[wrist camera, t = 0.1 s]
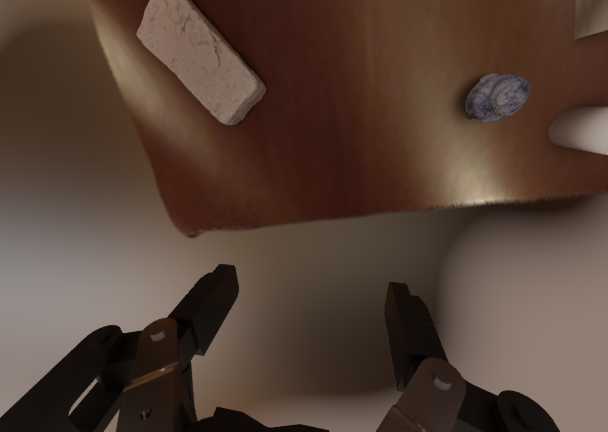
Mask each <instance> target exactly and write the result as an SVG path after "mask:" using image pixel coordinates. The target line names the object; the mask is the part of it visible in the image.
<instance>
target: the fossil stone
mask: <svg viewBox="0 0 608 432" xmlns="http://www.w3.org/2000/svg"><path fill="white" fill-rule="evenodd" d="M530 92H531V86H530V84H529V83H528V81H527V80H526V79H525V78H523V77H517V76H514V74H513V75H501V74H500V73H491V74H488V75H485V76H483V77H482V78H481V79H480V82H478V83H477V84H476V85H475V86H474V87H473V89H472V90H471V91H470V92H469V94H468V96H467V99H466V102H465V103H466V104H465V111H467V112H468V113H469V115H468V116H467V118H468V119H469V120H471V119H478V120H481V121H482V122H491V121H497V120H499V119H501V118H503V117H507V116H508V115H509V116H511V115H512V114H514V113H515V112H516V111H518V110H519V109H520V108H521V107H522V105H523V104H524V103H525V102H526V100H527V99H528V97H529V95H530Z"/></svg>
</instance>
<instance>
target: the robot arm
mask: <svg viewBox="0 0 608 432" xmlns="http://www.w3.org/2000/svg"><path fill="white" fill-rule="evenodd" d="M238 293H239V285H238V279H237V274H236V268H235V266H234V265H226V264H219V265H218V266H217V267H216V269H215V270H214V271H213V272H212V273H208V274H206V275H205V276H203V277H202V278H200V279H199V280H198V282H197V283H196V284H195V285H194V287H193V288H192V289H191V290H190V291H189V293H188V294H187V295H186V296H185V297H184V298H183V299H182V300H181V302H180V303H179V304H178V305H177V306H176V307H175V309H174V310H173V311H172V312H171V314H170V315H169V316H168V317H167V318H162V319H158V320H156V321H154V322H152V323H151V324H149V325H148V326H147V327H146V328H144V330H142V331H136V332H129V333H123V332H122V331H121V329H120V327H119V326H116V325H108V326H105V327H102V328H99V329H97V330H95V331H94V332H92V333H91V334H89V335H88V336H87V337H85V338H84V339H83V340H82V341H81V342H80V343H79V344H78V345H77V346H76V347H75V348H74V349H73V350H72V351H70V353H68V354H67V355H66V356H65V357H64V358H63V359H62V360H61V361H60V362H59V363H58V364H57V365H56V366H55V367H53V368H52V369H51V370H50V371H49V372H48V373H47V374H46V375H45V376H44V377H43V378H42V379H41V380H40V381H39V382H38V383H37V384H36V385H34V386H33V387H32V388H31V389H30V390H29V391H28V392H27V393H26V394H25V395H24V396H23V397H22V398H21V399H20V400H19V401H18V402H16V403H15V404H14V405H13V406H12V407H11V408H10V409H9V410H8V411H7V412H6V413H5V414H4V415H3V416H2V417H1V418H0V432H104V430H105V429H106V427H107V426H108V424H109V423H110V422H111V420H112V419H113V417H114V416H115V414H116V413H117V412H118V410H119V409H120V410H119V416H118V422H117V428H116V432H329V430H325V429H320V428H316V427H311V426H306V425H301V424H298V425H289V426H281V427H273V428H269V427H266V426H264V425H263V424H261V423H260V422H258V421H256V420H255V419H253V418H251V417H250V416H248V415H247V414H245V413H243V412H239V411H235V410H230V409H225V408H221V407H217V408H216V410H215V412H214V415H213V416H212V417H208V418H204V419H201V420H199V421H198V420H197V415H196V410H195V404H194V392H193V380H192V379H193V378H192V365H191V360H192V358H193V356H194V355H195V354H196V355H202V356H204V355H205V353H206V351H207V349H208V348H209V346H210V344H211V342H212V341H213V339H214V337H215V335H216V334H217V332H218V330H219V328H220V327H221V325H222V323H223V321H224V320H225V318H226V316H227V314H228V313H229V311H230V309H231V307H232V306H233V304H234V302H235V300H236V298H237V296H238ZM384 308H385V309H384V316H385V323H386V329H387V334H388V340H389V346H390V351H391V358H392V364H393V369H394V376H395V381H396V387H397V391H402V392H403V394H402V395H401V397H400V399H399V400H398V402H397V403H396V404H395V405H393V406H392V407H391V408H390V410H389V411H388V413H387V414H386V416H385V418H384V419H383V421H382V422H381V424H380V426H379V427H378V429H377V430H376V432H560V431H559V429H558V427H557V426H556V424H555V422H554V421H553V419H552V418H551V417H550V416H549V414H548V413H547V412H546V411H545V410H544V409H543V408H542V407H541V406H540V405H539V404H537V403H536V402H535V401H533V400H532V399H530V398H529V397H527V396H525V395H523V394H521V393H519V392H515V391H510V390H506V391H502V392H501V393H500V394H499V395H498V396H497V395H495V394H492V393H490V392H488V391H486V390H484V389H481V388H479V387H477V386H475V385H473V384H471V383H469V382H467V381H466V380H464V379H463V377H462V376H461V374H460V373H459V372H458V371H457V369H456V368H454V367H453V366H452V365H451V364H450V363H449V362H448V360H447V357H446V355H445V352H444V349H443V347H442V345H441V342H440V339H439V336H438V334H437V332H436V329H435V326H434V324H433V321H432V319H431V317H430V313H429V311H428V308H427V306H426V305H425V303H424V302H423V301H422V300H421V299H420V298H419V296H413V295H410V292H409V289H408V286H407V284H405V283H396V282H389V285H388V290H387V295H386V300H385V307H384ZM95 378H96V379H97V380H98V382H97V383H96V384H95V385H94V387H93V388H92V389H91V390H90V391H89V393H88V394H87V395H86V396H85V397H84V399H83V400H82V401H81V402H80V403H79V404H78V406H77V407H76V408H75V409H74V410H73V411H72V413H71V414H70V415H69V411H70V409H71V407H72V406H73V404H74V403H75V401H76V400H77V399H78V398H79V397H80V396H81V394H82V393H83V392H84V391H85V390H86V389H87V388H88V386H89V385H90V384H91V383H92V382H93V380H95ZM68 415H69V416H68Z"/></svg>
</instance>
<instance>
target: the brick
mask: <svg viewBox="0 0 608 432" xmlns="http://www.w3.org/2000/svg"><path fill="white" fill-rule="evenodd" d="M137 36H138V38H139V39H140V40H141V41H142V43H143V45H144V46H145V47H147V48H148V49H149V50H150V51H151V52H152V53H153V54H154V55H155V56H156V57H158V58H159V59H160V60H161V61H162V62H163V63H164V64H165V65H166V66H167V67H168V68H169V69H170V70H172V71H173V72H174V73H175V74H176V75H177V77H178V78H179V79H180V80H181V81H182V83H183V84H184V85H185V86H186V87H187V88H188V89H189V90H190V91H191V92H192V93H193V94H194V95H195V97H196V98H197V99H198V100H199V101H200V102H201V103H202V104H203V105H204V106H205V107H206V108H207V109H208V110H209V111H210V113H211V114H212V115H213V116H215V117H216V118H217V119H218V120H219V121H220V122H222V123H223V124H227V125H236V124H237V123H239V122H240V121H241V120H243V119H244V118H245V115H246V114H247V113H248V111H249V110H250V109H251V108H252V107H253V105H255V104H256V103H257V102H258V101H259V100H260V99H261V98H262V96H263V95H264V94H265V92H266V87H265V85H264V83H263V82H262V81H261V79H260V78H259V77H258V76H257V75H256V74H255V73H254V72H253V70H251V69H250V68H249V67H248V66H247V65H246V63H245V62H244V61H243V60H242V58H241V57H240V55H239V54H238V53H237V52H235V51H234V50H233V49H232V47H231V46H230V44H229V43H228V42H227V41H226V40H225V39H224V38H223V36H222V35H221V34H220V33H219V32H218V31H217V29H216V28H215V27H214V26H213V25H212V24H211V22H209V21H208V20H207V18H206V17H205V16H204V15H203V14H202V13H201V11H200V10H199V9H198V8H197V7H196V6H195V5H194V4H193V3H192V1H191V0H150V1H149V3H148V5H147V7H146V10H145V13H144V17H143V20H142V23H141V25H140V27H139V29H138V31H137Z"/></svg>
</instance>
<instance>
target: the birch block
mask: <svg viewBox="0 0 608 432" xmlns="http://www.w3.org/2000/svg"><path fill="white" fill-rule="evenodd" d="M606 30H608V0H576V12H575V39H578V38H582V37H585V36H589V35H592V34H596V33H599V32H602V31H606Z"/></svg>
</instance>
